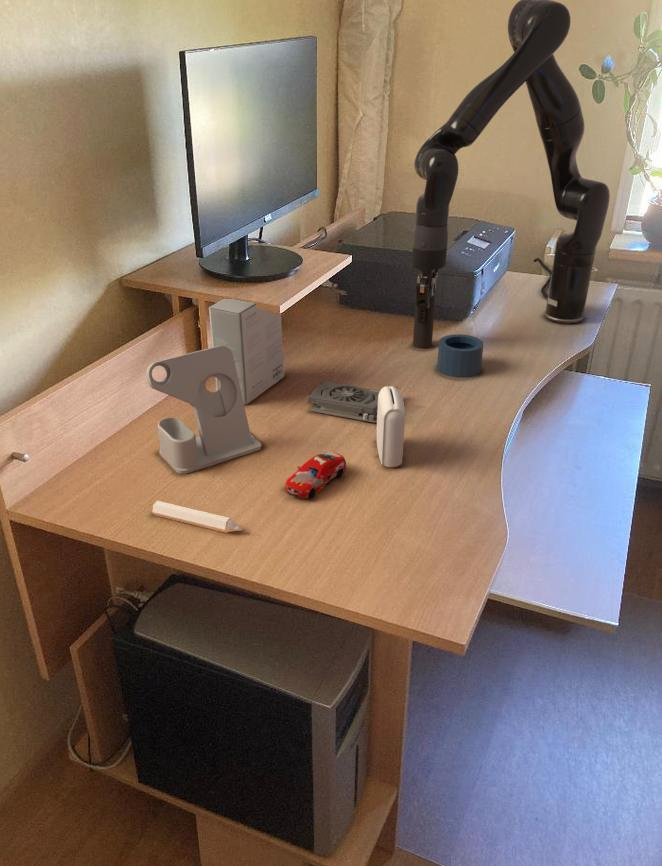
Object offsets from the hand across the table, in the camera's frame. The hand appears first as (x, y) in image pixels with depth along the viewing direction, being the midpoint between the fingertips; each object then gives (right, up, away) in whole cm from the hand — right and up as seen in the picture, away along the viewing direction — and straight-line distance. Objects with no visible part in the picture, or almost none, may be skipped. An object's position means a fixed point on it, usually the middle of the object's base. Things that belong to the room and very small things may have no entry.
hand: (424, 318), depth 180 cm
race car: (-26, -38, -45) cm, 65 cm away
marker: (-45, -45, -55) cm, 84 cm away
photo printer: (-13, -33, -38) cm, 52 cm away
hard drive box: (-39, -18, -14) cm, 45 cm away
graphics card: (-18, -22, -21) cm, 36 cm away
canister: (0, -6, +4) cm, 7 cm away
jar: (+6, -13, -8) cm, 16 cm away
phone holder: (-45, -32, -36) cm, 66 cm away
